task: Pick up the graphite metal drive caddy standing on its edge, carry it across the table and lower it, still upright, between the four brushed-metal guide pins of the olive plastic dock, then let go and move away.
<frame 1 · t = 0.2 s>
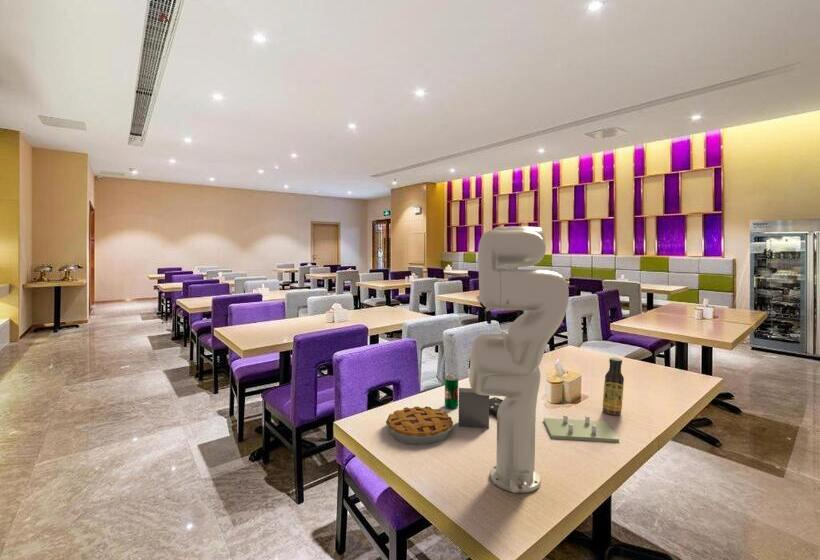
hand: (504, 323, 126), 36 cm above the table, tool pointing down, fingers open, 9 cm apart
drive caddy: (473, 425, 136), on the table
dock: (579, 430, 131), on the table
soda can: (451, 407, 152), on the table
sauce bottle: (612, 413, 146), on the table
disk drive: (500, 413, 147), on the table
pie: (419, 431, 132), on the table
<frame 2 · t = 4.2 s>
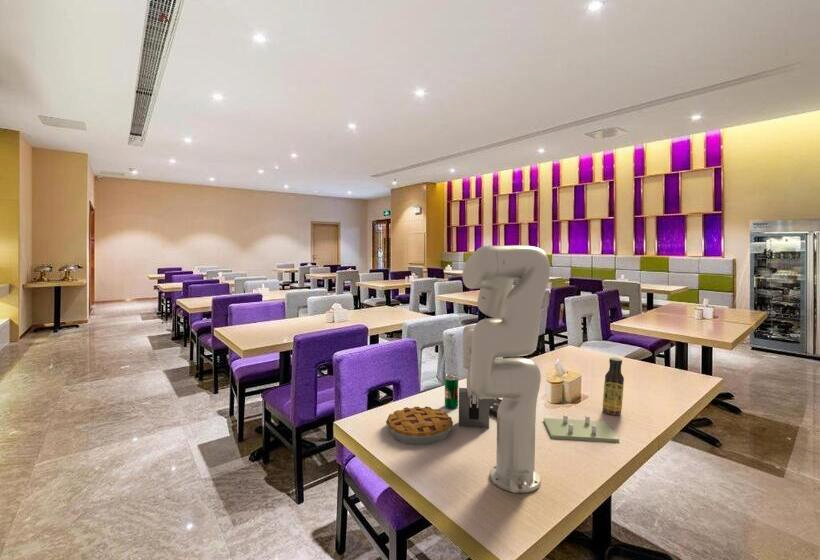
hand: (473, 415, 136), 3 cm above the table, tool pointing down, fingers closed on drive caddy, 4 cm apart
drive caddy: (473, 425, 136), on the table, touching gripper
everything else where it was.
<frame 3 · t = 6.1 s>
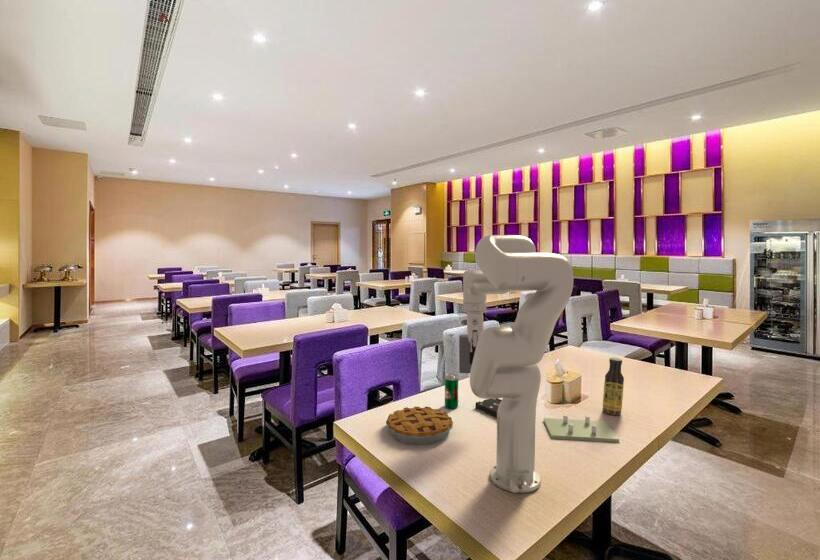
hand: (474, 361, 134), 22 cm above the table, tool pointing down, fingers closed on drive caddy, 4 cm apart
drive caddy: (474, 371, 134), point 19 cm above the table, touching gripper
everything else where it was.
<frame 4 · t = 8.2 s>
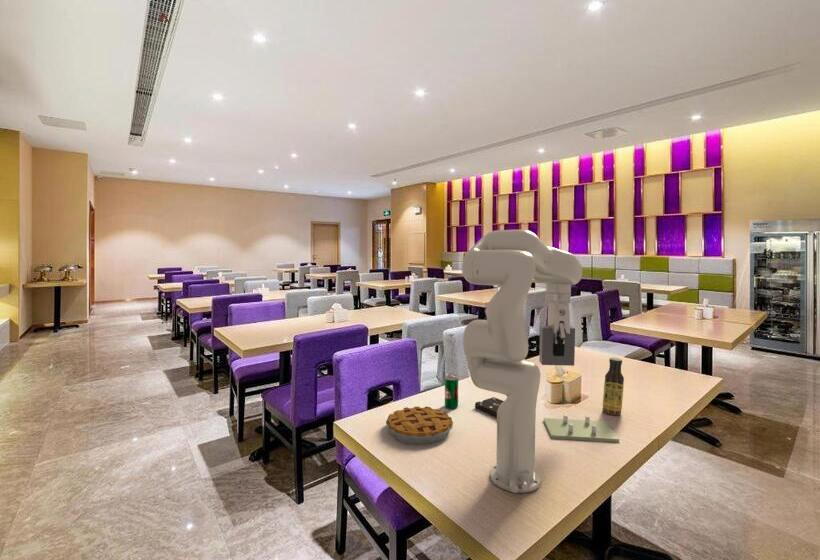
hand: (556, 353, 130), 25 cm above the table, tool pointing down, fingers closed on drive caddy, 4 cm apart
drive caddy: (556, 363, 131), point 22 cm above the table, touching gripper
everything else where it was.
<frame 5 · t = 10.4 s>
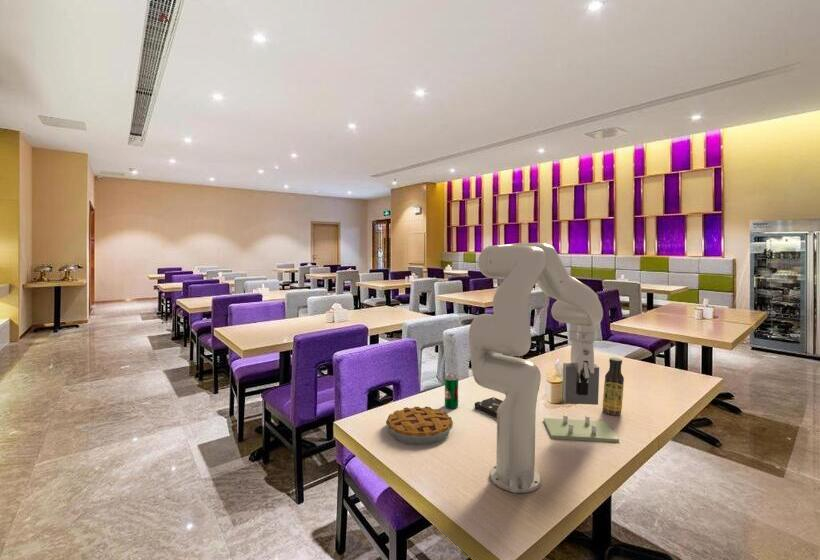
hand: (580, 391, 130), 13 cm above the table, tool pointing down, fingers closed on drive caddy, 4 cm apart
drive caddy: (579, 401, 130), point 10 cm above the table, touching gripper
everything else where it was.
when the fingers open (5 cm above the table, at t = 12.6 s): drive caddy stays where it is, resting on dock.
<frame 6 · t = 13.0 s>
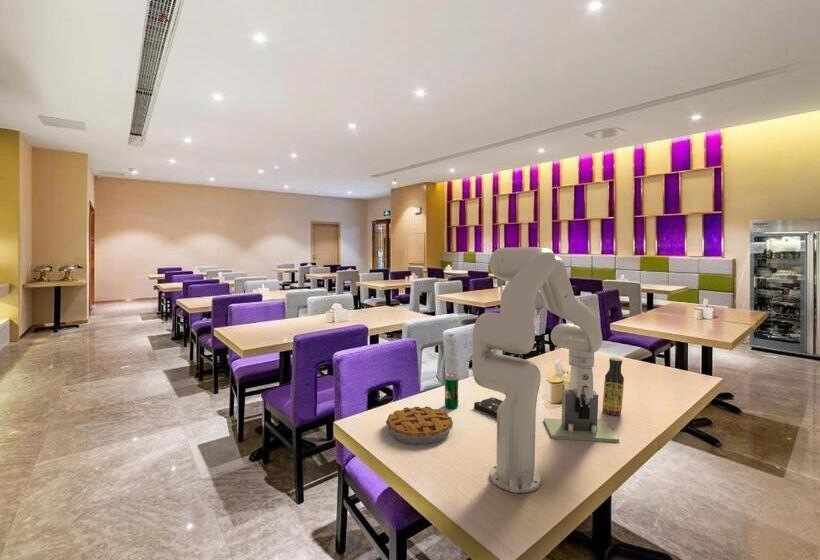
hand: (579, 412, 131), 6 cm above the table, tool pointing down, fingers open, 8 cm apart
drive caddy: (578, 428, 131), point 1 cm above the table, touching dock
everything else where it was.
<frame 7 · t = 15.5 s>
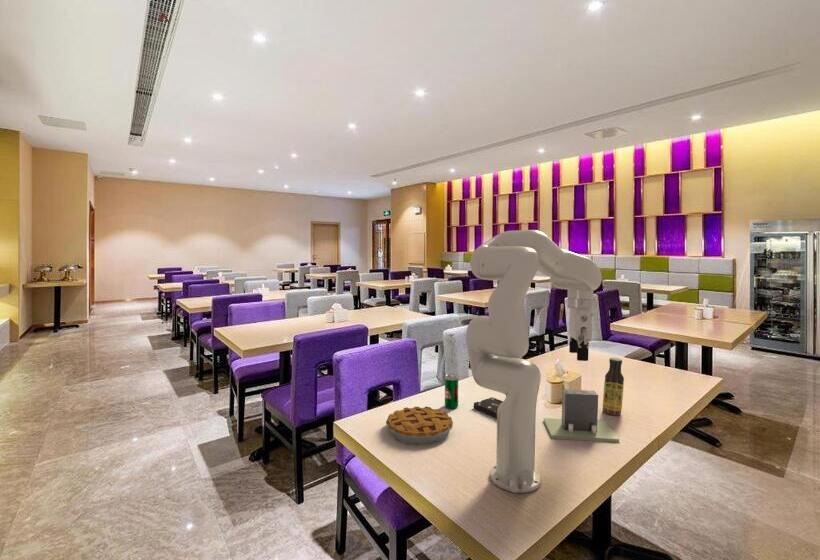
hand: (578, 356, 130), 25 cm above the table, tool pointing down, fingers open, 9 cm apart
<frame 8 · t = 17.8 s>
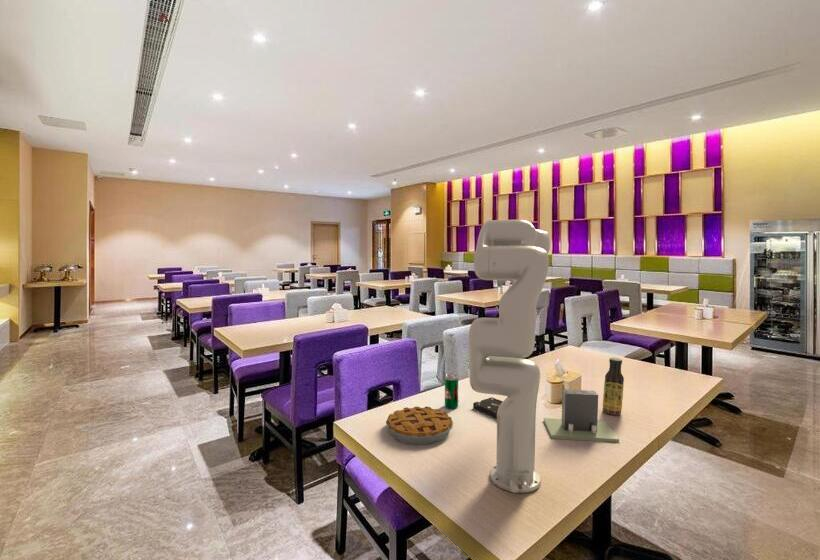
hand: (520, 320, 140), 34 cm above the table, tool pointing down, fingers open, 9 cm apart
at the end: drive caddy 0.1 cm off-centre on the dock, point 1.0 cm above the dock's base; drive caddy tilted 0°; the gripper is holding nothing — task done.
